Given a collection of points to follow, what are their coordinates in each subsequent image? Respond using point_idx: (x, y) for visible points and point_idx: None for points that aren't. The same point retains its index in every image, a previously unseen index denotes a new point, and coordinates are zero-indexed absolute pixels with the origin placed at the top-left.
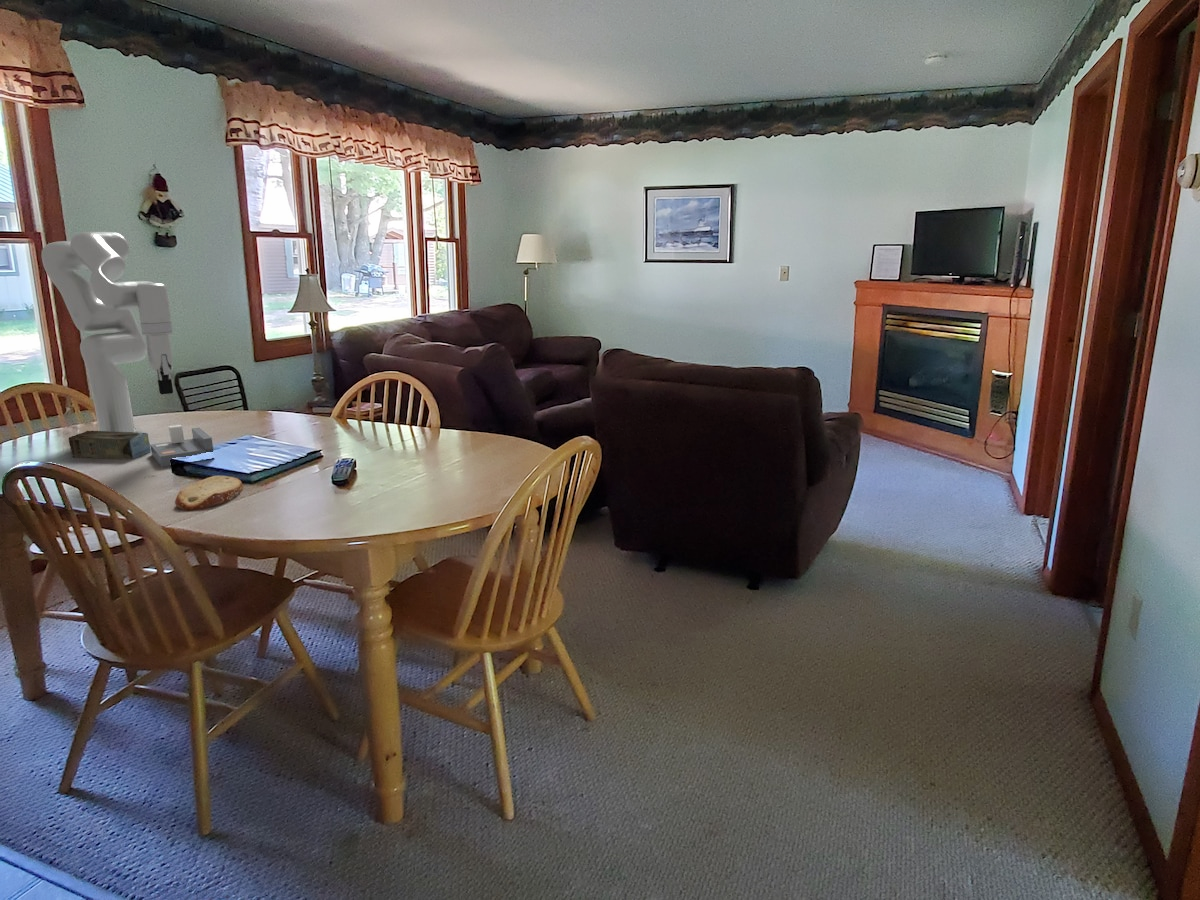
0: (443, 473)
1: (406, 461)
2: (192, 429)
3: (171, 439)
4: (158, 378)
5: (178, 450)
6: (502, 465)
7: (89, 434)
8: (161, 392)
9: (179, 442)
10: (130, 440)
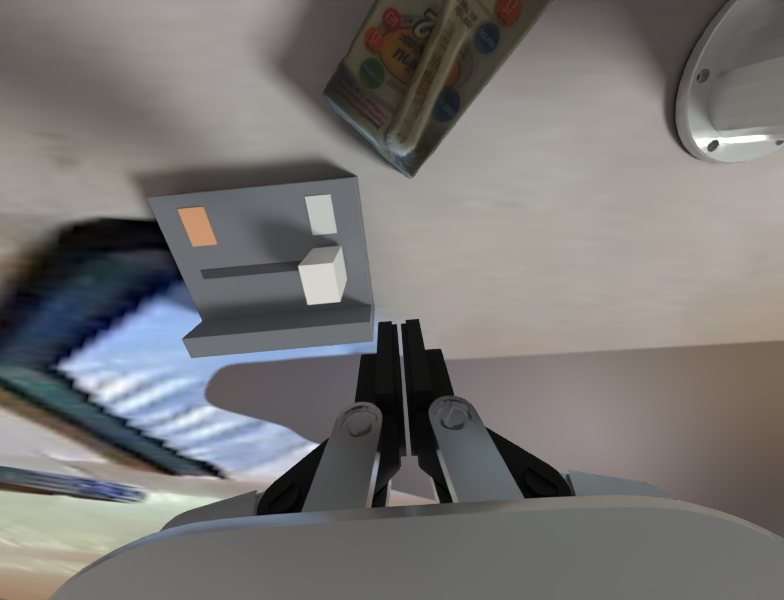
0: (14, 557)
1: (99, 541)
2: (356, 322)
3: (320, 250)
4: (461, 403)
5: (219, 256)
6: None
7: None
8: (379, 331)
9: None
10: (325, 98)
